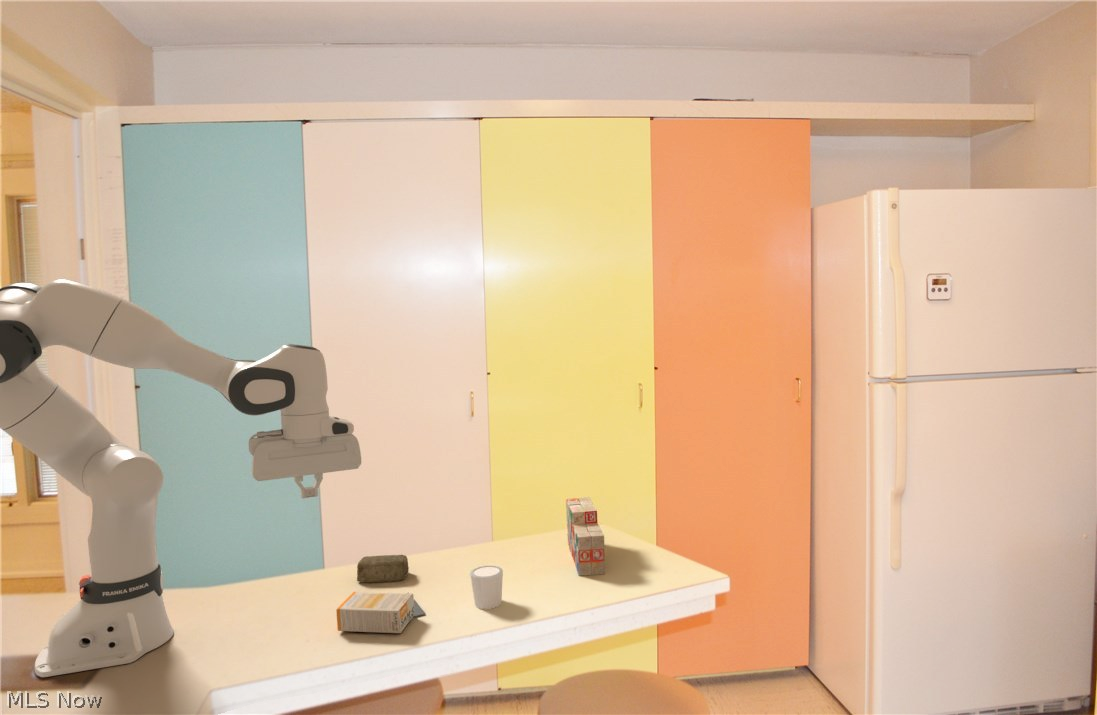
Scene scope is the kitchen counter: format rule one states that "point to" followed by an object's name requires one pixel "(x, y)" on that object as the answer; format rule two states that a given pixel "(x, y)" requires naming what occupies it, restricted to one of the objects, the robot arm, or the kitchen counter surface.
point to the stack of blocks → (585, 536)
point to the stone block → (382, 568)
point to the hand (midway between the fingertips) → (309, 496)
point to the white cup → (487, 586)
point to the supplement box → (375, 612)
